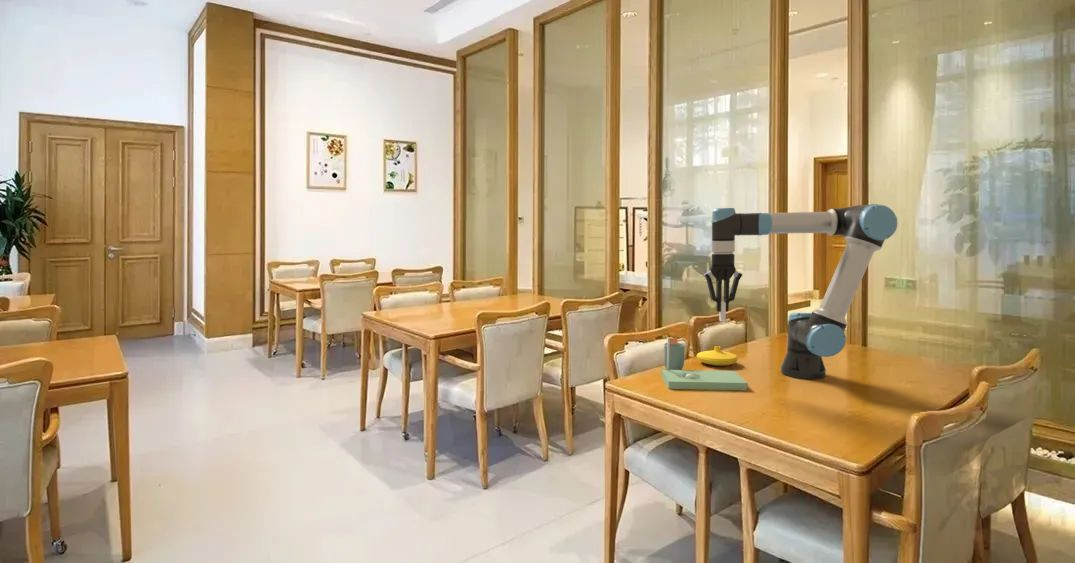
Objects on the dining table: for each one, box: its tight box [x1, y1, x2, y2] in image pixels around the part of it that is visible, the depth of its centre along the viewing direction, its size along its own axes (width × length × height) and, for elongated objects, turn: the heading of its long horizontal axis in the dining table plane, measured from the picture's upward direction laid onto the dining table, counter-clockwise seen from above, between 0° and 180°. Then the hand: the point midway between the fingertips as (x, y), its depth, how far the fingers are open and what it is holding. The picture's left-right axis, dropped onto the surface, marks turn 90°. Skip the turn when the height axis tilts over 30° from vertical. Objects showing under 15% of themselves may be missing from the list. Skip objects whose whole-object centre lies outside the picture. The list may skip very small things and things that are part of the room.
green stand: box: [661, 337, 748, 391], centre depth 209 cm, size 26×16×14 cm, turn 87°
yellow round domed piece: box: [696, 345, 739, 367], centre depth 238 cm, size 16×16×7 cm
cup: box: [663, 342, 686, 370], centre depth 227 cm, size 8×8×10 cm
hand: (722, 320), depth 209 cm, fingers closed
